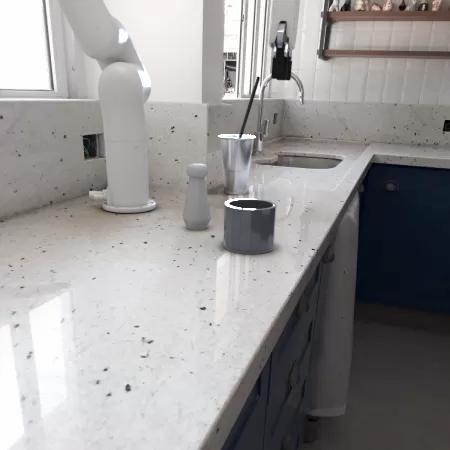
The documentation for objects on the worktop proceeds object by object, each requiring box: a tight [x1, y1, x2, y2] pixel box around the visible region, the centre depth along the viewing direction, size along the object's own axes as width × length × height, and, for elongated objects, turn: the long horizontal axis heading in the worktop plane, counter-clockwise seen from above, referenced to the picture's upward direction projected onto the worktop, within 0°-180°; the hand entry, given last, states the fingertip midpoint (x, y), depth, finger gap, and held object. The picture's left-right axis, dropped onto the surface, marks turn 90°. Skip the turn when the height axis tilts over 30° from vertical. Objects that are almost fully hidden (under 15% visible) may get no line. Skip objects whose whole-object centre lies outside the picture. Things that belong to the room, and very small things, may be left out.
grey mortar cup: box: [223, 198, 278, 255], centre depth 88 cm, size 9×9×8 cm
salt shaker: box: [182, 163, 212, 231], centre depth 98 cm, size 6×6×13 cm
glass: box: [218, 76, 261, 196], centre depth 131 cm, size 11×11×30 cm
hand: (281, 79), depth 104 cm, fingers open, 9 cm apart
